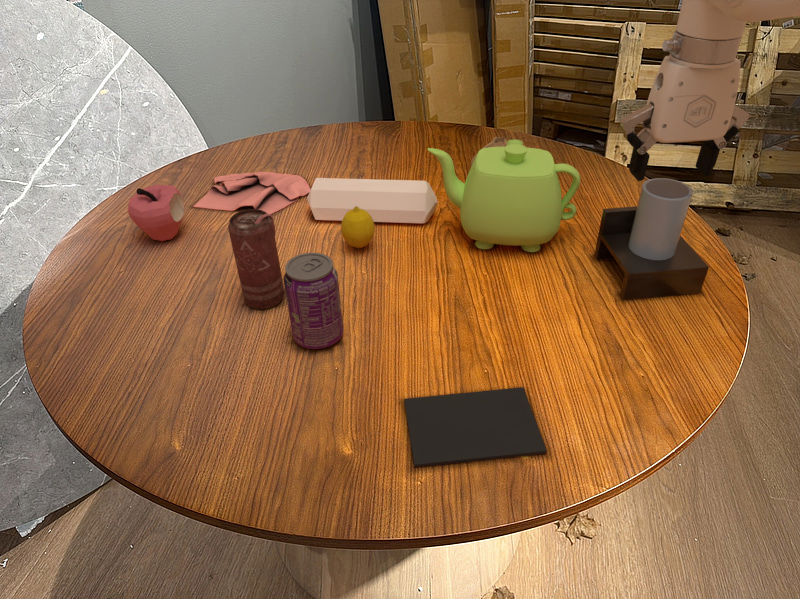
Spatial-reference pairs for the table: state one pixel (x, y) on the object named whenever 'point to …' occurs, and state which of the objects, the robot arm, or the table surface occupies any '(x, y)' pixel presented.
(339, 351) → the table surface
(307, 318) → the beverage can
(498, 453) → the mat
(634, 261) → the shelf
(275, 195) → the cloth
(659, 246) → the blue cup
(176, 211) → the apple
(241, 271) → the can
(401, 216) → the crystal
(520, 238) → the teapot
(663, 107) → the robot arm
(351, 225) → the fruit
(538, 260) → the table surface
